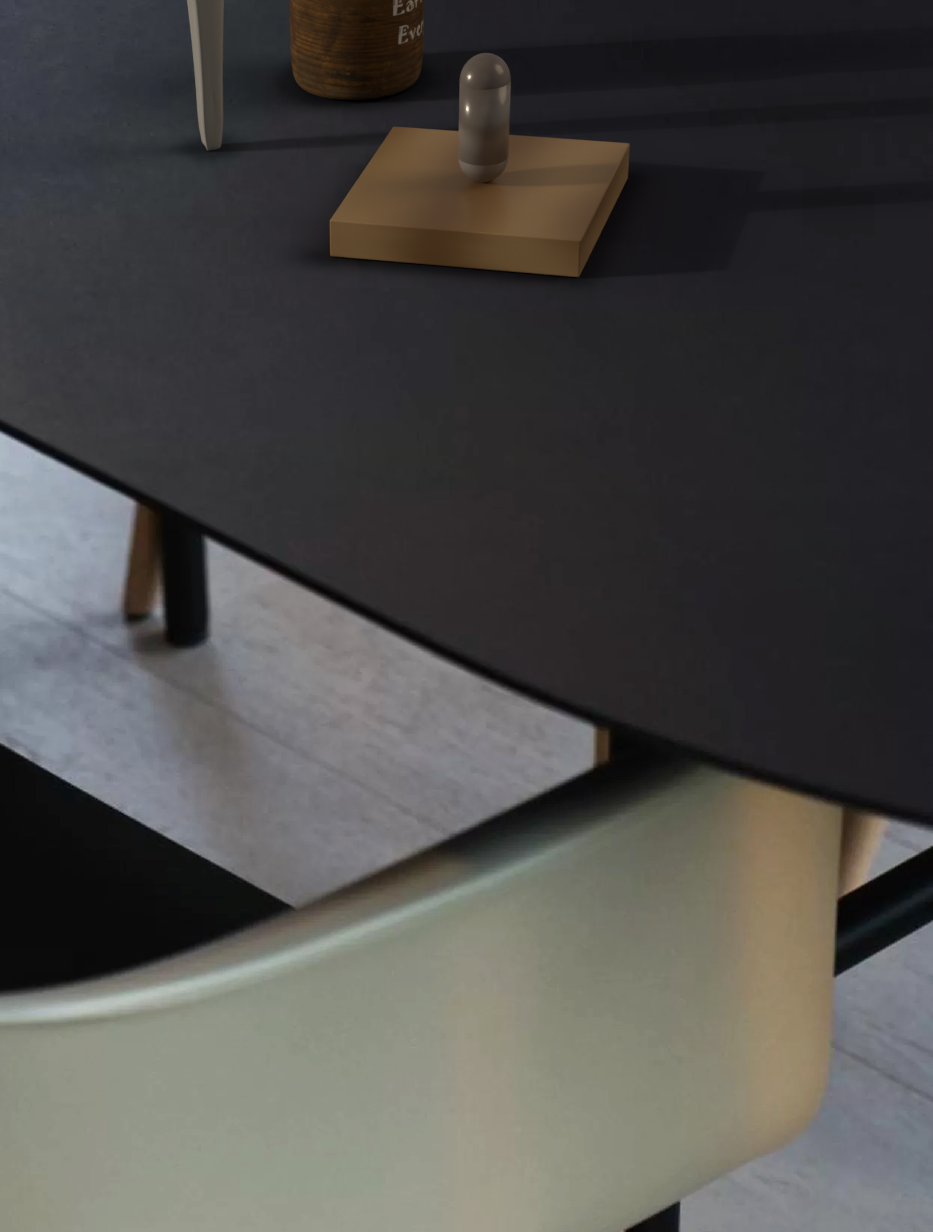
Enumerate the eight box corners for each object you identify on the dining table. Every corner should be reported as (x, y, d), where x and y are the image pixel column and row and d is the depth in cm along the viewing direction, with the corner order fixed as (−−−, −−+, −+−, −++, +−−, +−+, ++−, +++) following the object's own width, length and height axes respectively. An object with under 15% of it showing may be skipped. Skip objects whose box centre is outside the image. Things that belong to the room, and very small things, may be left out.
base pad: (628, 178, 111) (637, 18, 107) (579, 277, 104) (587, 109, 100) (393, 160, 114) (393, 3, 110) (329, 256, 107) (327, 92, 103)
